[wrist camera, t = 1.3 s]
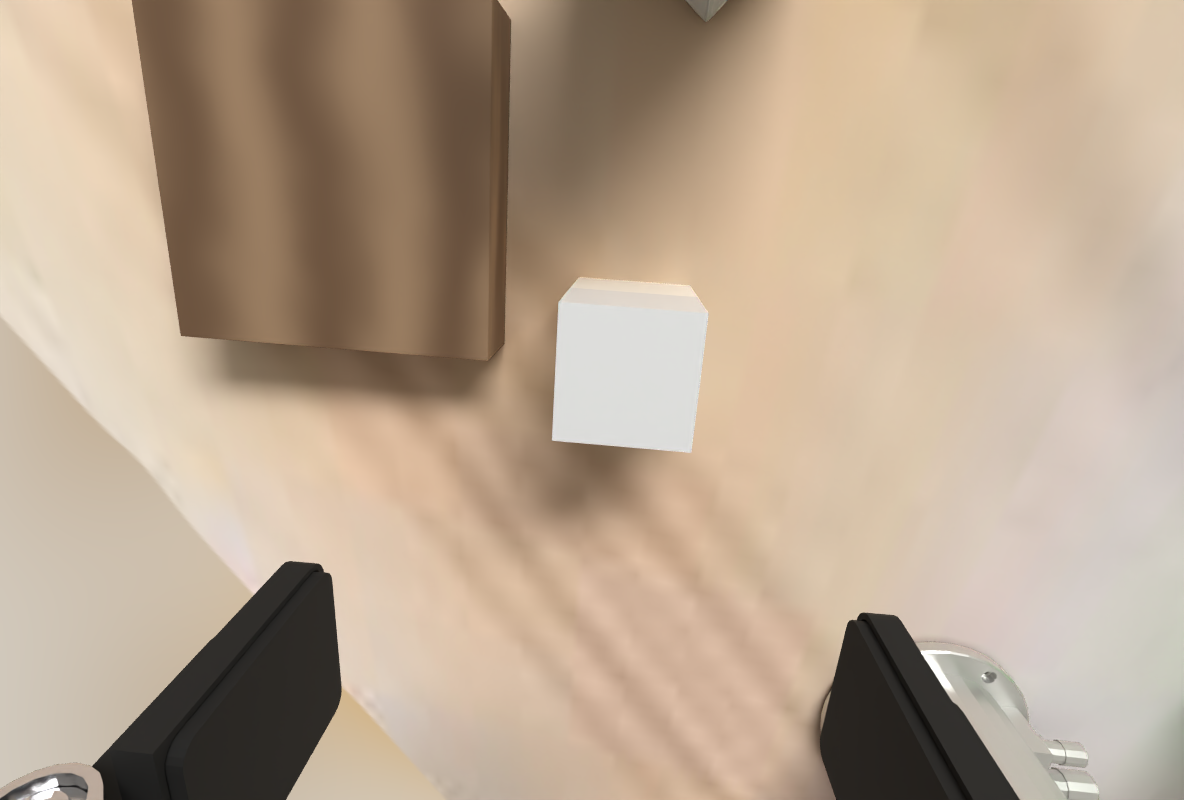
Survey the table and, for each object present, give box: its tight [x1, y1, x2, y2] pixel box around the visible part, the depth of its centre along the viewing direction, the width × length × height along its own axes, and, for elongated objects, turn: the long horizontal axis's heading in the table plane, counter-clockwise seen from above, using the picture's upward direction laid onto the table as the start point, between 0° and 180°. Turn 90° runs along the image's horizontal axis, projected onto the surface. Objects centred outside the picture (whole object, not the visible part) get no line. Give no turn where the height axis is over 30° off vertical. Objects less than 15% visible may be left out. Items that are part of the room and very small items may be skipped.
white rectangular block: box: [552, 277, 709, 453], centre depth 29 cm, size 6×6×9 cm
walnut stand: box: [132, 0, 511, 361], centre depth 30 cm, size 16×16×4 cm
